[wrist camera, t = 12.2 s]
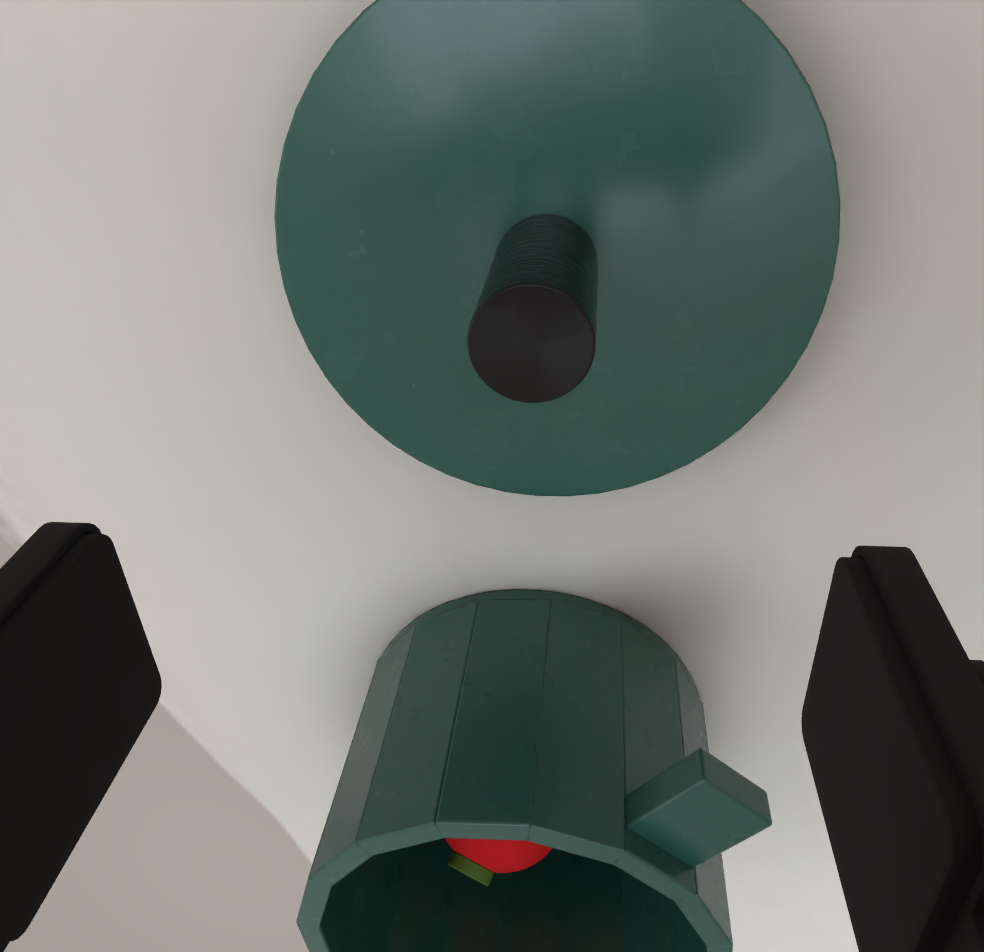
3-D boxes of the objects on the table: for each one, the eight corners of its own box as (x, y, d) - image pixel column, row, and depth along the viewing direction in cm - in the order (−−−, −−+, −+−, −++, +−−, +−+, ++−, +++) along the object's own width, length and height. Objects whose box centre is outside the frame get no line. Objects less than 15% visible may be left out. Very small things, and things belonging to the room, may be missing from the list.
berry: (615, 774, 29) (555, 923, 27) (548, 759, 33) (492, 887, 31) (508, 708, 28) (437, 860, 26) (453, 701, 32) (388, 831, 30)
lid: (953, 216, 20) (1073, 310, 15) (575, 550, 27) (567, 693, 22) (506, -235, 17) (460, -315, 12) (200, 280, 23) (84, 376, 18)
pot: (834, 679, 29) (915, 940, 21) (513, 879, 37) (490, 1115, 30) (561, 475, 26) (542, 697, 18) (280, 746, 34) (187, 972, 27)
